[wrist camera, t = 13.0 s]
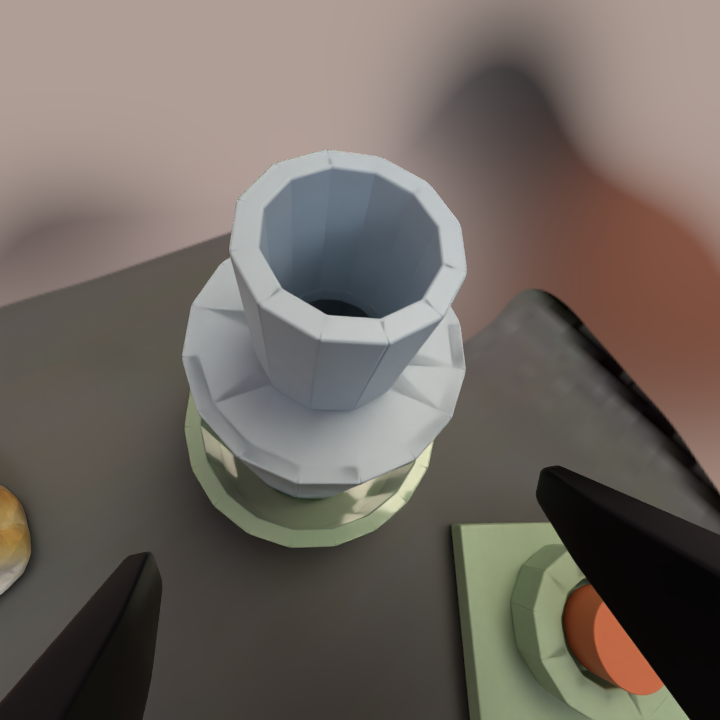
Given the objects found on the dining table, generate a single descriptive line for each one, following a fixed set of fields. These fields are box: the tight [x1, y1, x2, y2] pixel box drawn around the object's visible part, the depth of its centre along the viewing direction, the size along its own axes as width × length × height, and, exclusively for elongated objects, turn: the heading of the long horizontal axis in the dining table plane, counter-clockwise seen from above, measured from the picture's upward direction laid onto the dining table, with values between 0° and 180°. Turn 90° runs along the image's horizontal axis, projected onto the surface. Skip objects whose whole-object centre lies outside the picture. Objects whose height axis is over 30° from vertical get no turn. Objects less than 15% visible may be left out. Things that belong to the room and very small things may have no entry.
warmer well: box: [184, 389, 434, 548], centre depth 17 cm, size 10×10×4 cm
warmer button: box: [564, 584, 664, 695], centre depth 15 cm, size 3×3×2 cm
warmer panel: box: [451, 522, 690, 720], centre depth 17 cm, size 8×10×3 cm
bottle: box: [182, 150, 467, 499], centre depth 12 cm, size 6×6×14 cm
